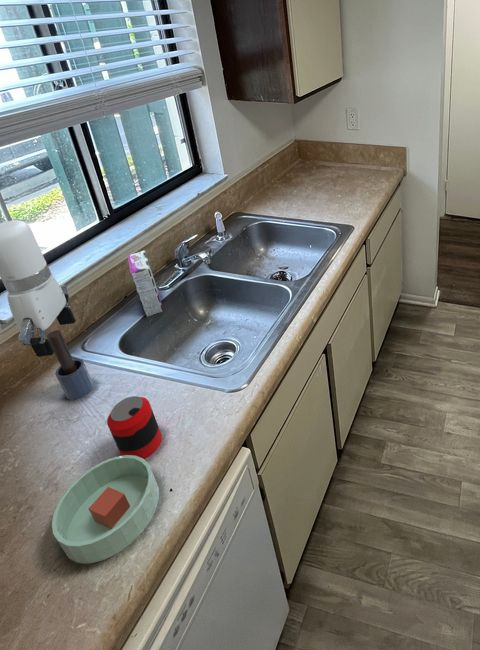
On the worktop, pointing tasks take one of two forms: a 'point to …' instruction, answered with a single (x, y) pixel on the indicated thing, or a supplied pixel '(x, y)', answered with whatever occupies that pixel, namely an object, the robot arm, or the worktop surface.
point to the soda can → (134, 427)
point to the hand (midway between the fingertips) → (57, 338)
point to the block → (109, 507)
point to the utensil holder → (75, 381)
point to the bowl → (72, 510)
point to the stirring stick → (62, 352)
